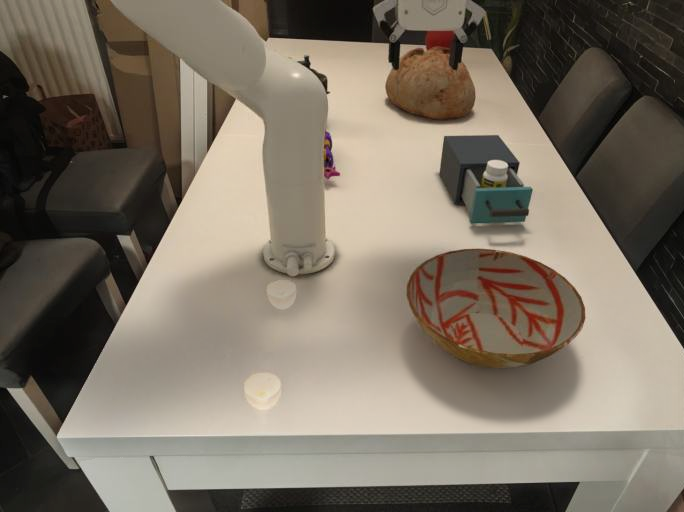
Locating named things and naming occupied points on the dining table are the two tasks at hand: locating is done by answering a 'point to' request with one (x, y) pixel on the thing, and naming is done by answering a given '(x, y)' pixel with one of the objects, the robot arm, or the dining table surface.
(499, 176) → the supplement bottle
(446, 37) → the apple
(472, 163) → the drawer box
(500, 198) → the teal drawer
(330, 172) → the purple toy figure
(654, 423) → the dining table surface
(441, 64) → the bread
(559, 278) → the bowl
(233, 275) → the dining table surface
